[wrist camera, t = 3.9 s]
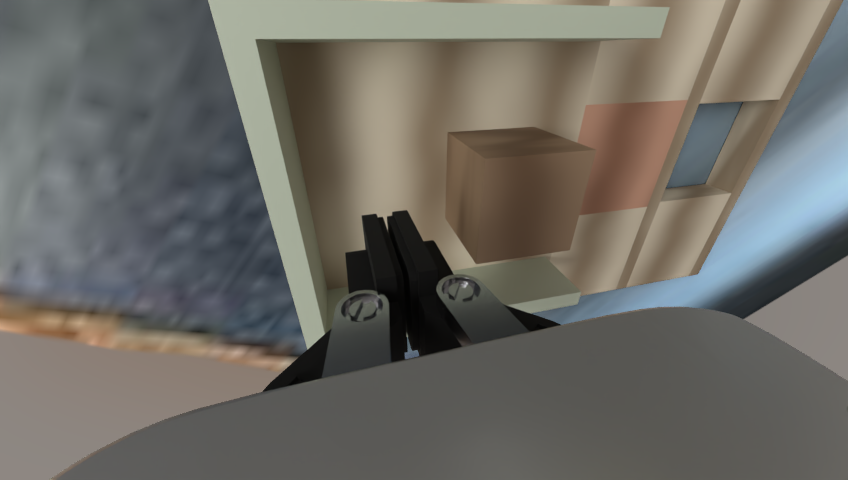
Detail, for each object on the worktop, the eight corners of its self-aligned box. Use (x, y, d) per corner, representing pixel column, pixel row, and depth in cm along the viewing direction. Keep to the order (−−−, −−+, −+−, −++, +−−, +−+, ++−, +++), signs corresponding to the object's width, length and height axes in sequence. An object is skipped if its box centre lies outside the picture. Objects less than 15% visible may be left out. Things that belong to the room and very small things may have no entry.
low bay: (597, 17, 16) (669, 7, 12) (542, 267, 23) (577, 304, 20) (241, 12, 12) (207, -3, 9) (313, 304, 20) (309, 355, 17)
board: (826, -50, 19) (875, -60, 17) (677, 261, 30) (697, 274, 28) (227, -94, 12) (210, -117, 11) (323, 322, 23) (323, 343, 22)
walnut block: (534, 126, 18) (596, 149, 13) (520, 209, 20) (569, 250, 16) (447, 132, 17) (485, 158, 12) (445, 218, 19) (476, 264, 15)
